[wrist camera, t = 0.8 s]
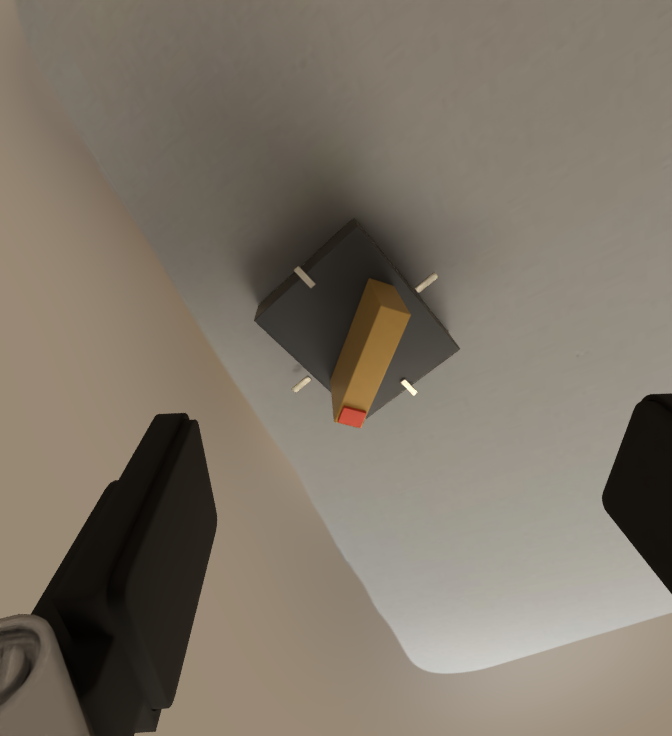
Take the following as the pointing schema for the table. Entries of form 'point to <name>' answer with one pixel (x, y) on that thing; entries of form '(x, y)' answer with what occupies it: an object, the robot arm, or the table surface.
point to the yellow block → (367, 352)
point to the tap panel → (351, 314)
